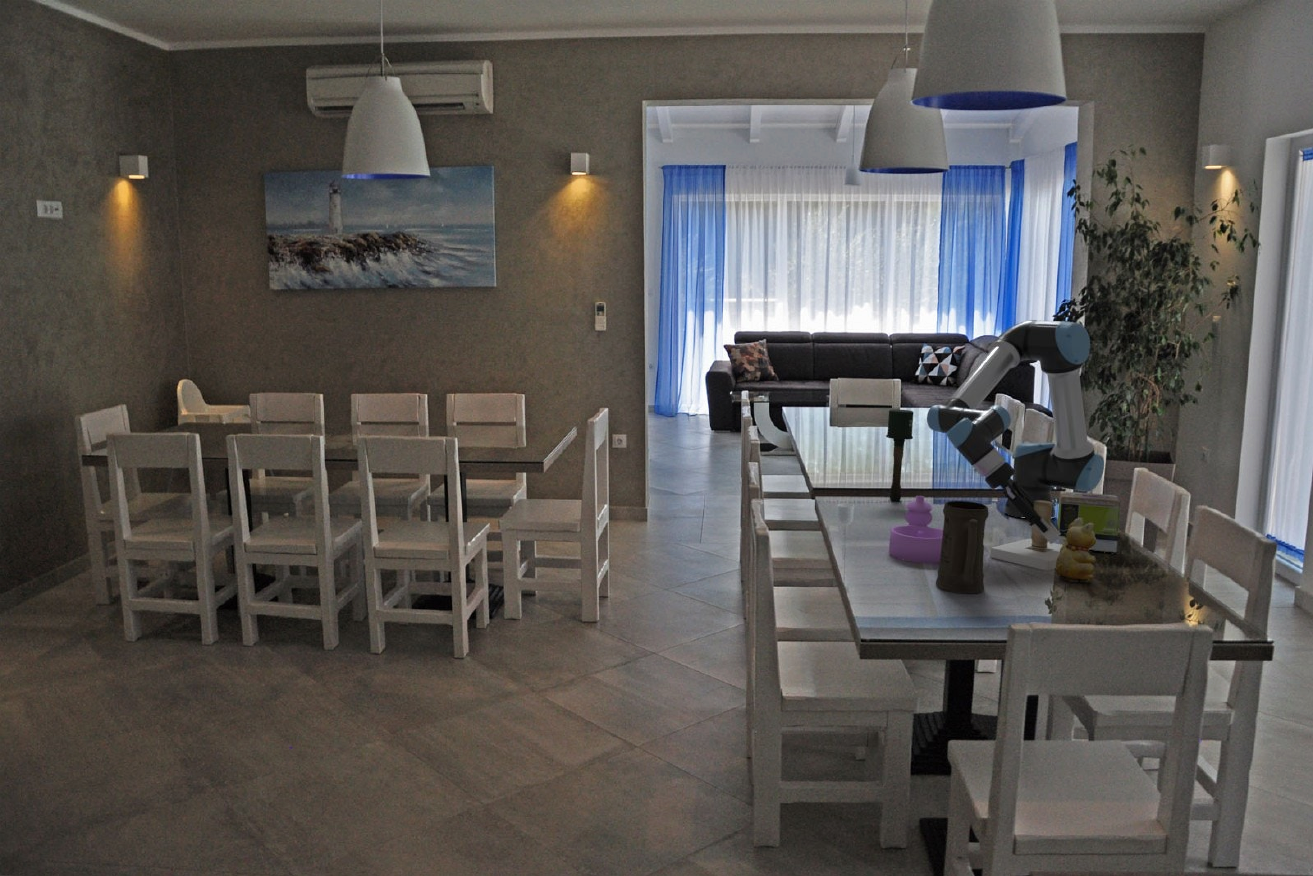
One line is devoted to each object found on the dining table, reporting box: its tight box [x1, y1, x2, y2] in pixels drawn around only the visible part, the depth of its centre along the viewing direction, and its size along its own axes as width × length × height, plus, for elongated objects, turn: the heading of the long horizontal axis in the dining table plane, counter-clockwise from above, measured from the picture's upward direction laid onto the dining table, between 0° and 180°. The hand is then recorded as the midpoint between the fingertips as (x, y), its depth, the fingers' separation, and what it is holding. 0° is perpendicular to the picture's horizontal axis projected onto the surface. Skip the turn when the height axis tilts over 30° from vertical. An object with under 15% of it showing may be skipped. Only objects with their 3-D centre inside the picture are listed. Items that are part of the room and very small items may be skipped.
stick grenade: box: [885, 408, 914, 502], centre depth 338 cm, size 8×9×30 cm
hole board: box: [989, 537, 1063, 571], centre depth 268 cm, size 20×16×2 cm
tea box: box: [1056, 491, 1121, 552], centre depth 281 cm, size 15×10×15 cm
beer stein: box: [935, 500, 989, 595], centre depth 234 cm, size 15×11×20 cm
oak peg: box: [1030, 500, 1052, 553], centre depth 267 cm, size 4×4×14 cm
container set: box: [888, 495, 943, 564], centre depth 270 cm, size 25×15×13 cm, turn 168°
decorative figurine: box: [1055, 518, 1097, 583], centre depth 246 cm, size 10×8×15 cm
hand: (1055, 538), depth 265 cm, fingers closed on oak peg, 4 cm apart
